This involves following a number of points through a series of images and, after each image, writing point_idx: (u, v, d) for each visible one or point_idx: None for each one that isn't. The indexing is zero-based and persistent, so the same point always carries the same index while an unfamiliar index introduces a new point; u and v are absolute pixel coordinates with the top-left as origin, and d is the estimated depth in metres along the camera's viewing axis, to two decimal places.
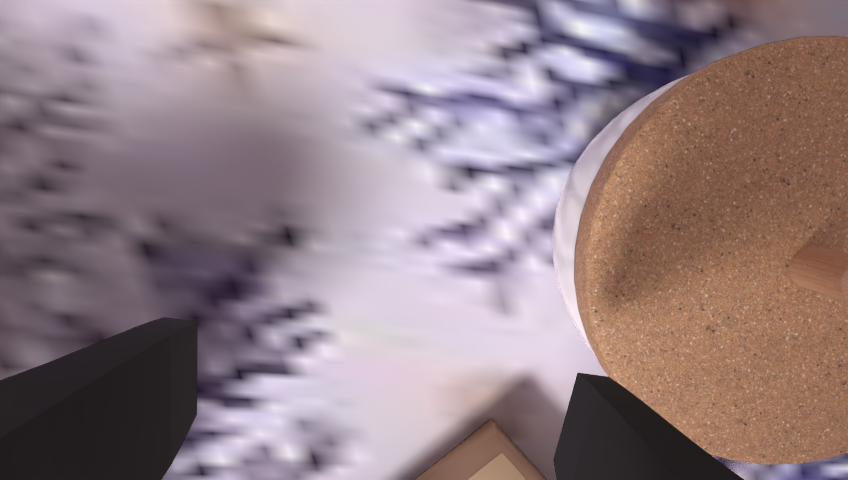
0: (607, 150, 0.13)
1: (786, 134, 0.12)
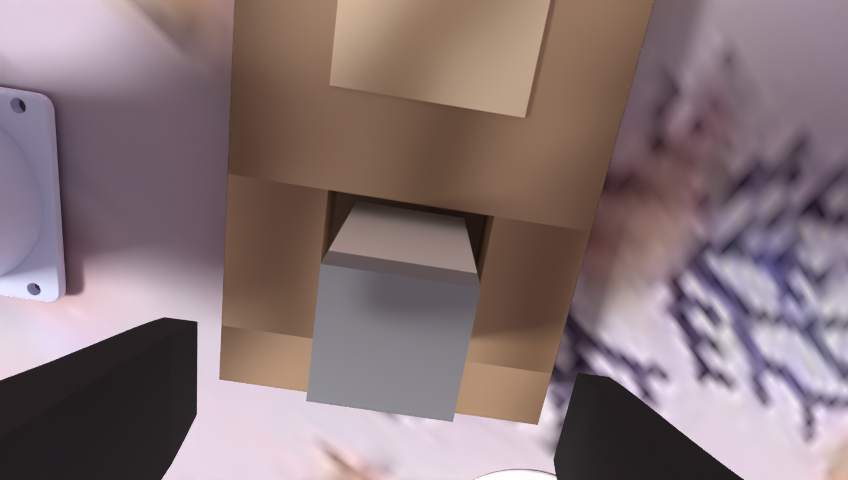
0: None
1: None
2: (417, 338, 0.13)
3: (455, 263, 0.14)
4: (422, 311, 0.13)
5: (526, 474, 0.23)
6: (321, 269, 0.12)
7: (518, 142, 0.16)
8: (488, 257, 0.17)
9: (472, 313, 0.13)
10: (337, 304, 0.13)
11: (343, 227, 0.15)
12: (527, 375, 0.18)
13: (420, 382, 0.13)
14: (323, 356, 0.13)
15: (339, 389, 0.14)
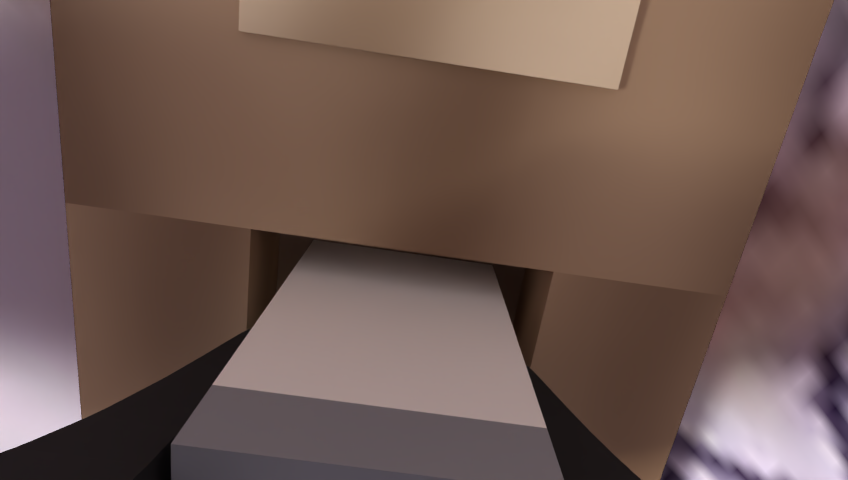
0: None
1: None
2: None
3: (494, 395, 0.07)
4: None
5: None
6: (173, 457, 0.05)
7: (601, 137, 0.08)
8: (540, 342, 0.10)
9: None
10: None
11: (271, 305, 0.08)
12: None
13: None
14: None
15: None
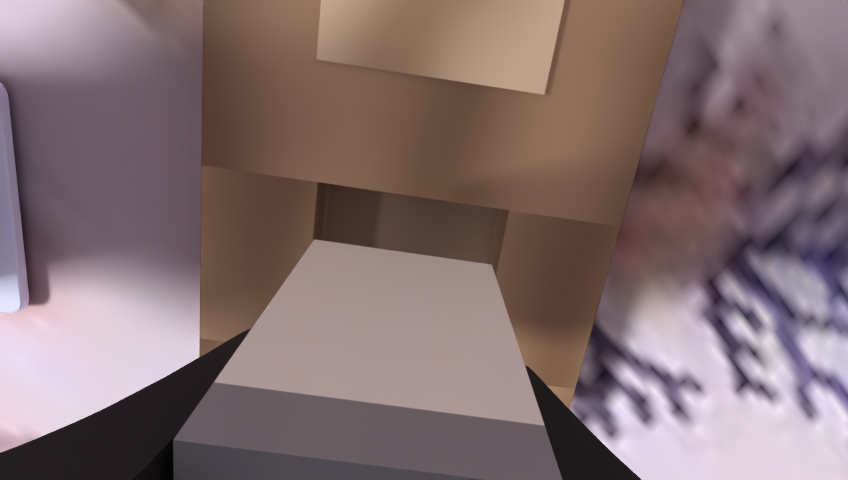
0: None
1: None
2: None
3: (492, 392, 0.07)
4: None
5: None
6: (175, 453, 0.05)
7: (536, 124, 0.14)
8: (502, 258, 0.15)
9: None
10: None
11: (272, 304, 0.08)
12: None
13: None
14: None
15: None
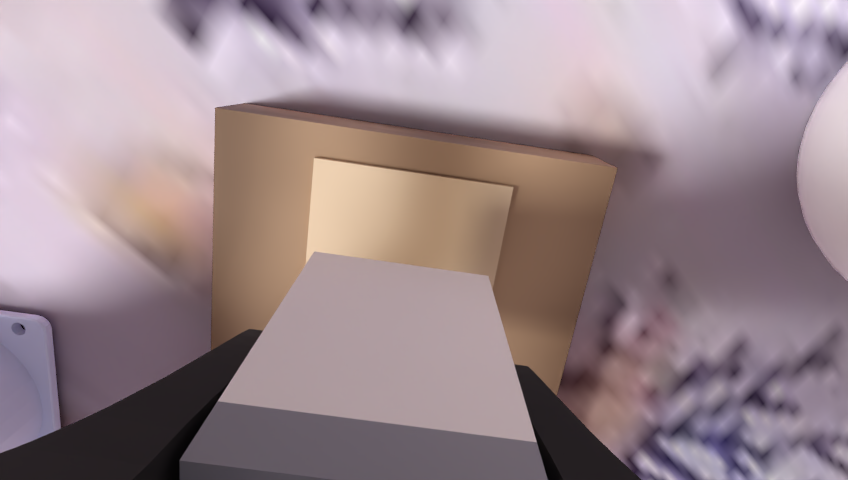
0: None
1: None
2: None
3: (486, 409, 0.07)
4: None
5: None
6: (181, 473, 0.05)
7: None
8: None
9: None
10: None
11: (273, 320, 0.08)
12: None
13: None
14: None
15: None
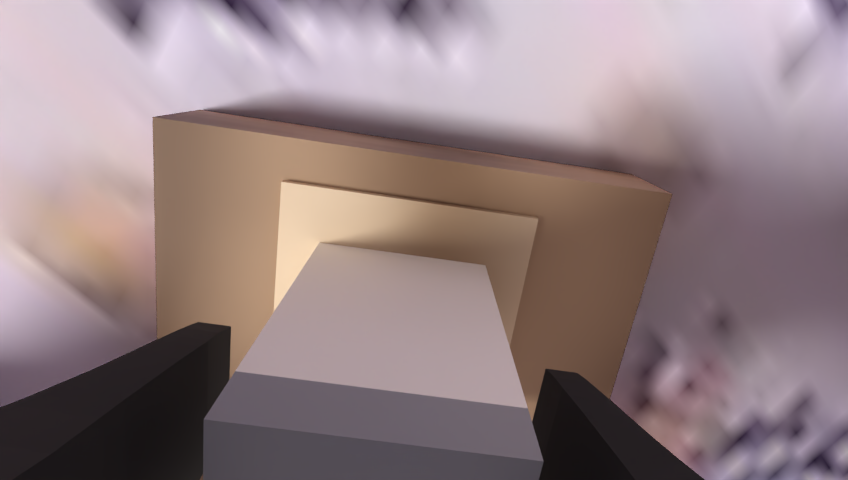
0: None
1: None
2: None
3: (482, 380, 0.07)
4: None
5: None
6: (205, 431, 0.06)
7: None
8: None
9: None
10: None
11: (283, 303, 0.09)
12: None
13: None
14: None
15: None
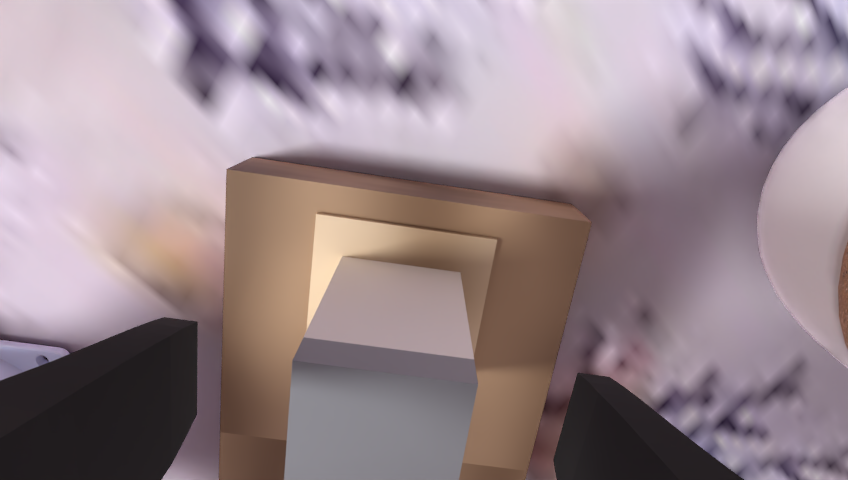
0: None
1: None
2: (406, 439, 0.11)
3: (449, 344, 0.12)
4: (411, 409, 0.11)
5: None
6: (293, 366, 0.11)
7: None
8: None
9: (469, 411, 0.11)
10: (313, 404, 0.11)
11: (324, 298, 0.14)
12: None
13: None
14: (299, 459, 0.12)
15: None
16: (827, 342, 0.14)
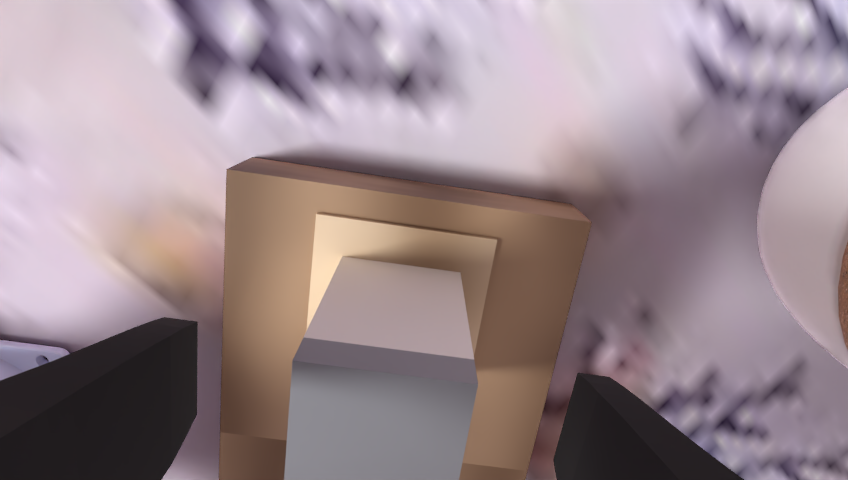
0: None
1: None
2: (406, 439, 0.11)
3: (449, 344, 0.12)
4: (411, 409, 0.11)
5: None
6: (293, 367, 0.11)
7: None
8: None
9: (469, 411, 0.11)
10: (313, 404, 0.11)
11: (324, 298, 0.14)
12: None
13: None
14: (299, 459, 0.12)
15: None
16: (827, 342, 0.14)
